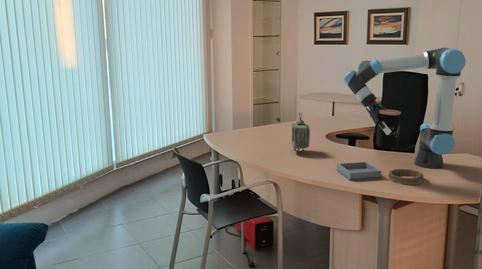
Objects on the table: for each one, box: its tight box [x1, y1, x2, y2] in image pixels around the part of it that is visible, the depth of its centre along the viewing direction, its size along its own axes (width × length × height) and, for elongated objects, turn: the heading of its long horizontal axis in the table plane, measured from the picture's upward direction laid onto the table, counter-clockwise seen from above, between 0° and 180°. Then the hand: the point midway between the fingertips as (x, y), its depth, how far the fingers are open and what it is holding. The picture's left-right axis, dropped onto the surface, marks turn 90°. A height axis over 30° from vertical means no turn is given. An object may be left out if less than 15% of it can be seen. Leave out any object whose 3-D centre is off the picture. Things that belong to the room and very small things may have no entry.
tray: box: [336, 161, 382, 182], centre depth 251 cm, size 17×17×4 cm
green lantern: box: [291, 111, 311, 155], centre depth 292 cm, size 14×9×25 cm, turn 1°
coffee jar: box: [375, 108, 402, 150], centre depth 240 cm, size 11×11×18 cm
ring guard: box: [388, 168, 424, 186], centre depth 243 cm, size 16×16×3 cm
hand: (393, 131), depth 239 cm, fingers closed on coffee jar, 11 cm apart
